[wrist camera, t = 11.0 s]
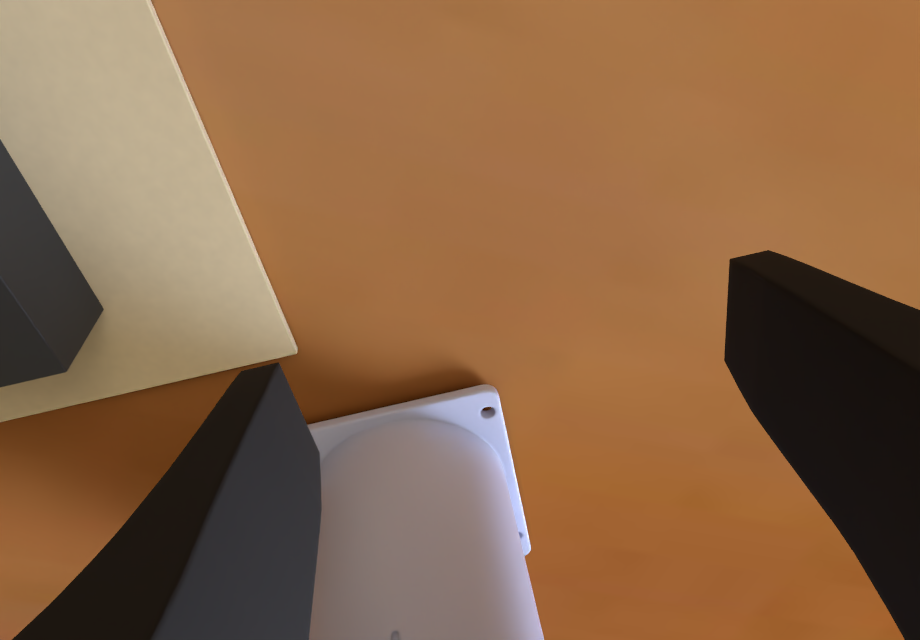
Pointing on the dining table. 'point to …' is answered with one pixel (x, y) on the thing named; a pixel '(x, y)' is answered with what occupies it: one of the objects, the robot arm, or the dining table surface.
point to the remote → (37, 287)
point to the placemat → (129, 202)
